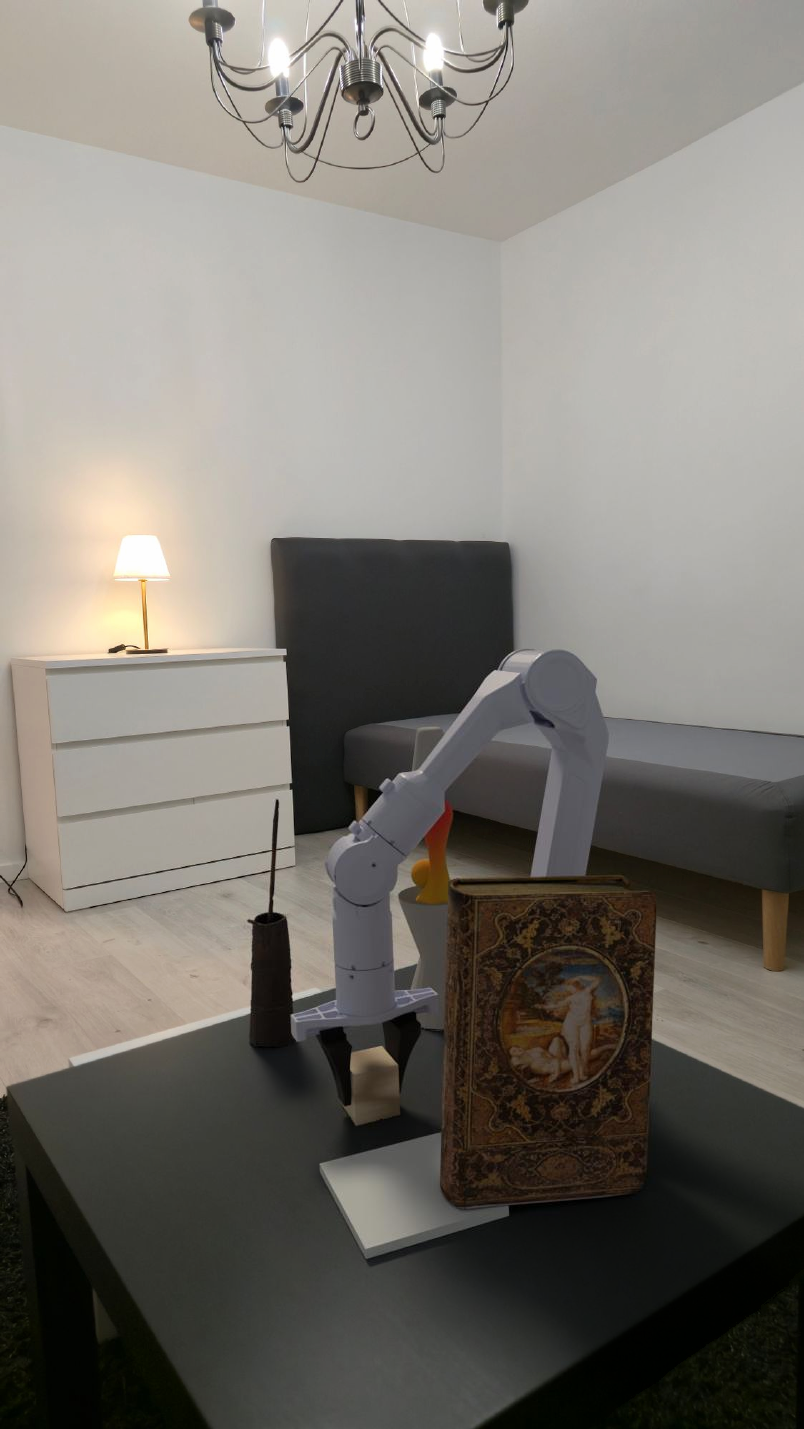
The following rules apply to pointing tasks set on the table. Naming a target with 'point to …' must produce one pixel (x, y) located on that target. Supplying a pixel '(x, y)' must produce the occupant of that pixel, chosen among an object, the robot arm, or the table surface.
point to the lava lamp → (430, 896)
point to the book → (546, 1039)
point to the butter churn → (271, 970)
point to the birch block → (373, 1086)
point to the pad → (398, 1196)
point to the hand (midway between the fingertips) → (369, 1095)
